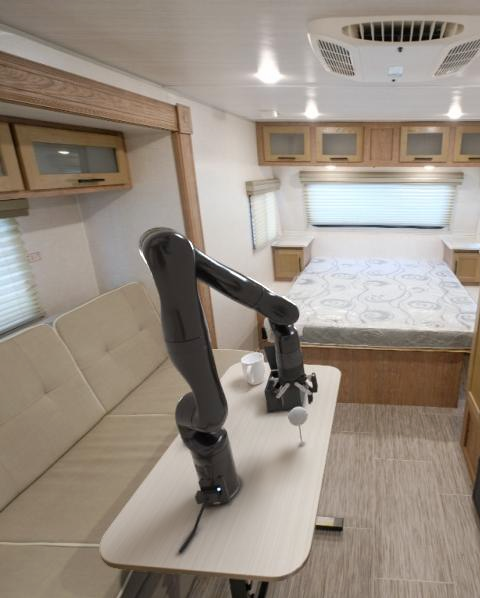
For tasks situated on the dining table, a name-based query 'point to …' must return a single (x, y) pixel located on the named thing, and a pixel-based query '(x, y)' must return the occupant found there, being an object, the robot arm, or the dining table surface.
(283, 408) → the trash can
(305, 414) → the lollipop
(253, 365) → the mug
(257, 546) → the dining table surface
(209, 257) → the robot arm
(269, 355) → the bin lid
